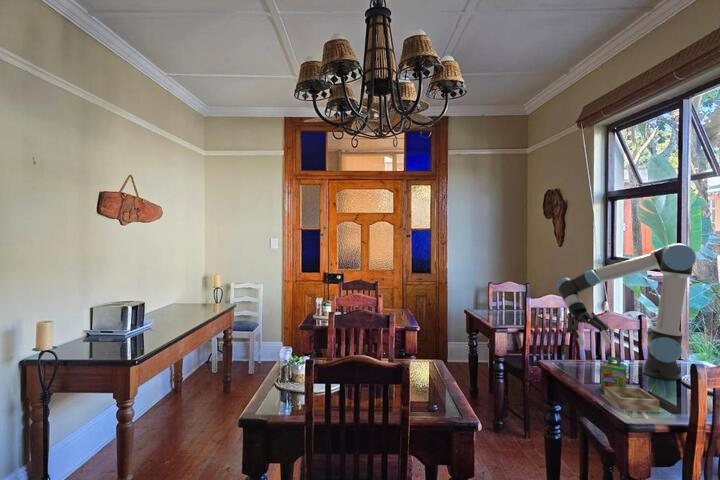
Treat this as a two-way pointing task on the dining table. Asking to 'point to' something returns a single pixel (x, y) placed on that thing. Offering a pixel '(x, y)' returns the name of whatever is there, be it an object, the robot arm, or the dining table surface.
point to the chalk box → (613, 374)
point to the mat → (628, 409)
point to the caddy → (631, 398)
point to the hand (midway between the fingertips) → (595, 343)
